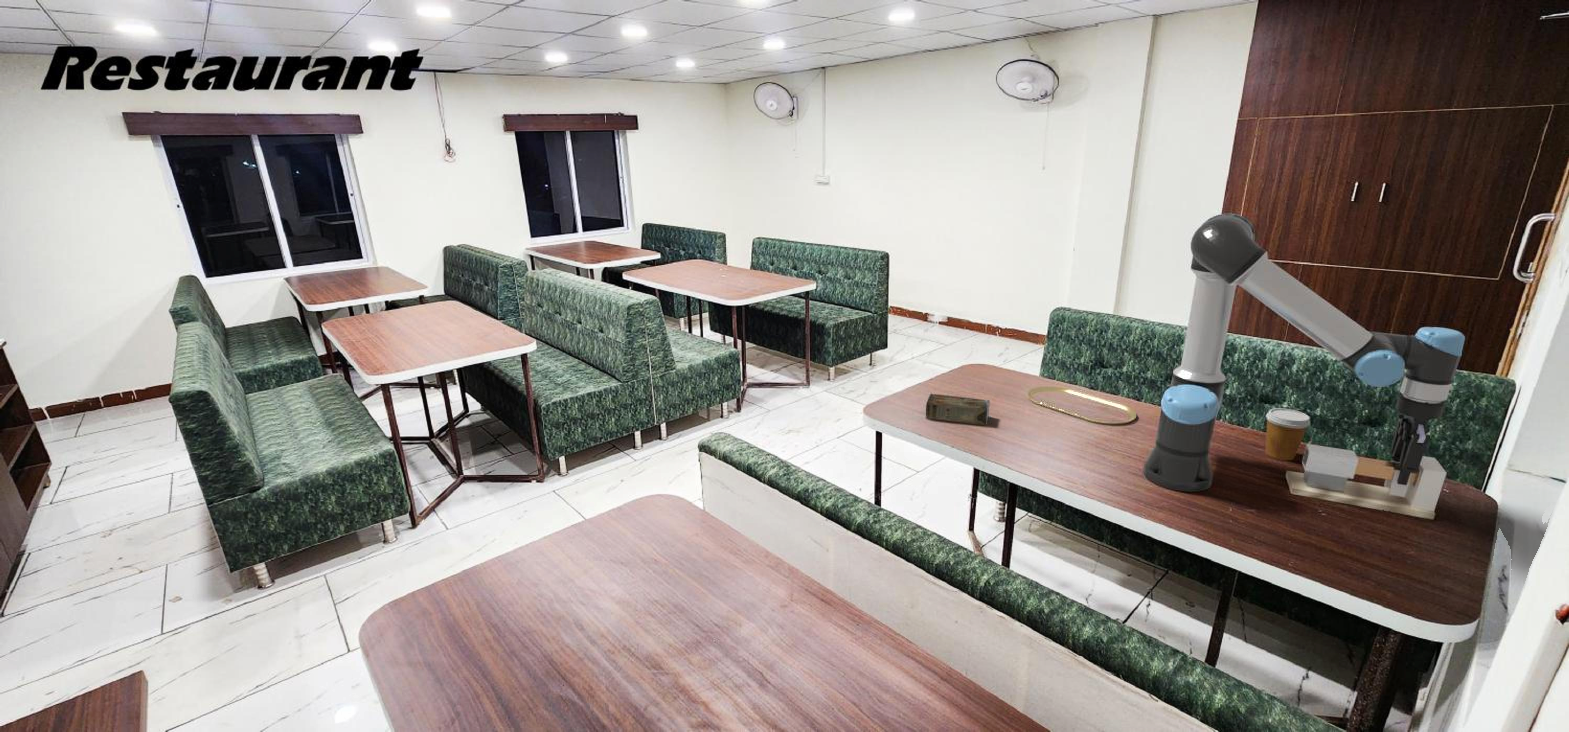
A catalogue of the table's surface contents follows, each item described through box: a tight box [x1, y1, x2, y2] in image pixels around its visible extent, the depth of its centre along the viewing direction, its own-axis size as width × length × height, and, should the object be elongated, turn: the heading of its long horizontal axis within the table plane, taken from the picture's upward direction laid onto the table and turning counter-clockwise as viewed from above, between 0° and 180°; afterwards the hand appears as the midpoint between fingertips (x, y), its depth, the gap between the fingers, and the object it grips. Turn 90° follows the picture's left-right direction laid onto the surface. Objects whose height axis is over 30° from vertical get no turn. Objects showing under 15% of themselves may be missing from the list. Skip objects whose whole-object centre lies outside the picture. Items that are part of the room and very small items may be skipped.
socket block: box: [1405, 455, 1447, 513], centre depth 147 cm, size 4×8×10 cm, turn 150°
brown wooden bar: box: [1354, 456, 1420, 484], centre depth 150 cm, size 15×3×3 cm, turn 60°
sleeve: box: [1301, 443, 1358, 493], centre depth 155 cm, size 9×5×9 cm, turn 60°
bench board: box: [1285, 470, 1436, 520], centre depth 154 cm, size 26×10×2 cm, turn 60°
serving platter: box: [1026, 386, 1137, 425], centre depth 212 cm, size 19×35×2 cm, turn 35°
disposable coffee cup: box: [1264, 407, 1311, 461], centre depth 173 cm, size 10×10×12 cm
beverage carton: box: [925, 393, 991, 426], centre depth 206 cm, size 8×19×7 cm, turn 69°
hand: (1394, 491), depth 150 cm, fingers closed on brown wooden bar, 3 cm apart
